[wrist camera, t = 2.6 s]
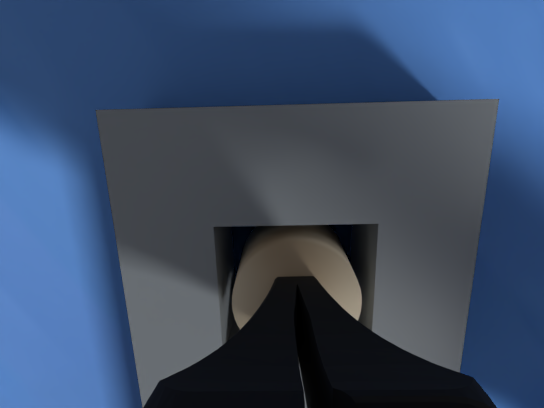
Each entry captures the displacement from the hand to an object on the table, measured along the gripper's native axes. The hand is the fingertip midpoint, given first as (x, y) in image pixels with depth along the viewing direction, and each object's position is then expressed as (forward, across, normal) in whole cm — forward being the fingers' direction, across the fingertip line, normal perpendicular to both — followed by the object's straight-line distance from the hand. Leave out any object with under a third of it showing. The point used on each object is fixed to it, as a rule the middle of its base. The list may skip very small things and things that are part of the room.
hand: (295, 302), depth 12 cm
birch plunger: (+3, 0, 0) cm, 3 cm away
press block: (+4, 0, +6) cm, 8 cm away
